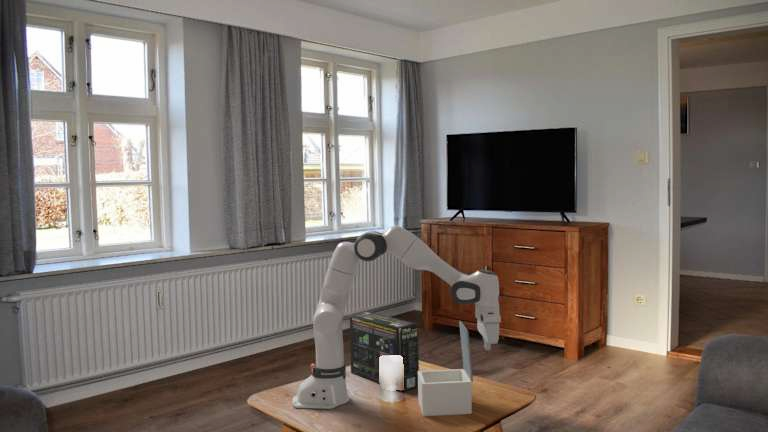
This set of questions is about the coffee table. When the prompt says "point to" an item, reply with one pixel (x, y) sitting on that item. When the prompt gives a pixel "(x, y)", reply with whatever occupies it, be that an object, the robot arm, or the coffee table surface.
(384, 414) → the coffee table surface
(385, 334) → the router box
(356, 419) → the coffee table surface
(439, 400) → the carton
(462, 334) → the lid flap
